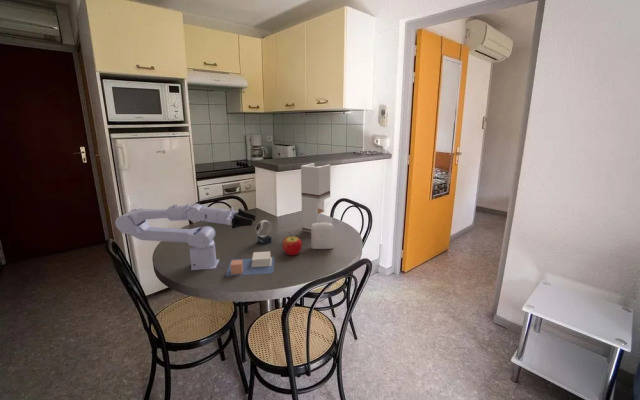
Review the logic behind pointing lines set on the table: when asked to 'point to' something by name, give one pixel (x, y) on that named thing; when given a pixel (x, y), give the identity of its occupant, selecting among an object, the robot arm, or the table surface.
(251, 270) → the blueprint board
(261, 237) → the watch
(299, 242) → the apple
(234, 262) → the terracotta block
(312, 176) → the tall white column
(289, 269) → the table surface
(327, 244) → the photo printer
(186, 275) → the table surface
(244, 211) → the robot arm
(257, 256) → the base block
